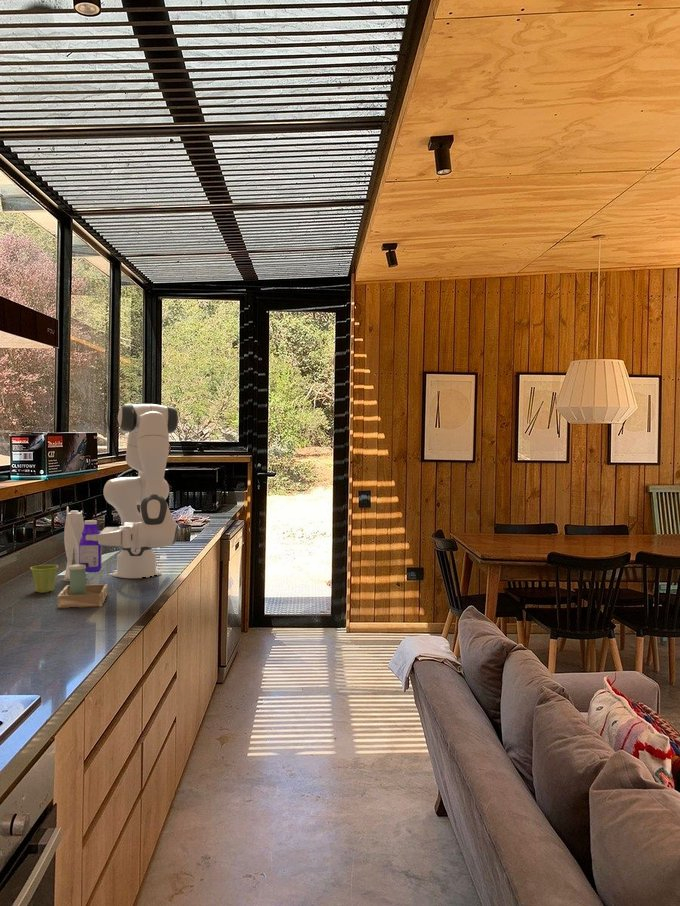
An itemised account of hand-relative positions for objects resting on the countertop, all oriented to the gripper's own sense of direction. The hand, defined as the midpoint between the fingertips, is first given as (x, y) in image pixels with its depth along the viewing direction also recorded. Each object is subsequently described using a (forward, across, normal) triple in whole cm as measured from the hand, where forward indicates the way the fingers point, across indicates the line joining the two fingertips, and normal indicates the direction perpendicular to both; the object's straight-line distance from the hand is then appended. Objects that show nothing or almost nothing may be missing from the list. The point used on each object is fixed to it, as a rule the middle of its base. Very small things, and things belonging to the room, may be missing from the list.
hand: (87, 535), depth 265 cm
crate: (+1, +4, +21) cm, 22 cm away
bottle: (-1, +1, +12) cm, 12 cm away
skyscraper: (+10, -37, +22) cm, 44 cm away
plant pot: (+17, -16, +22) cm, 32 cm away
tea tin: (+2, +8, +21) cm, 22 cm away
